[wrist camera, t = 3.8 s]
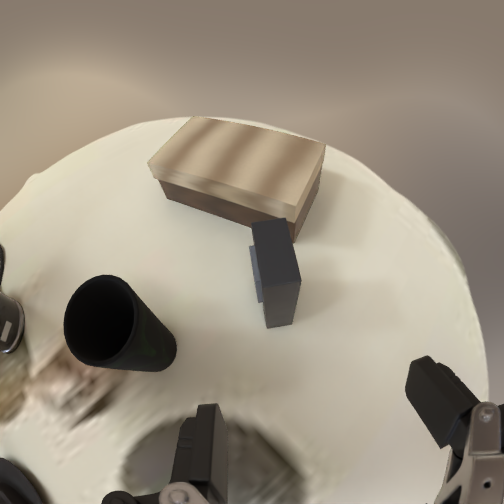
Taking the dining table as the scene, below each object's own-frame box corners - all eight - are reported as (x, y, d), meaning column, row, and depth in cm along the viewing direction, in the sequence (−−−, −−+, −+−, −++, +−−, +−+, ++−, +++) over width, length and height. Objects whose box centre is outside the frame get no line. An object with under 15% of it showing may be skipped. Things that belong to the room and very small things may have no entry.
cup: (121, 326, 31) (61, 288, 20) (176, 309, 31) (131, 262, 21) (133, 386, 27) (67, 373, 17) (193, 371, 28) (147, 354, 17)
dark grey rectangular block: (262, 329, 30) (255, 288, 19) (255, 283, 32) (245, 223, 22) (292, 324, 30) (301, 281, 19) (283, 278, 32) (285, 216, 22)
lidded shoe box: (165, 201, 40) (146, 162, 33) (203, 154, 44) (193, 115, 37) (292, 246, 34) (296, 206, 27) (319, 186, 39) (325, 144, 32)
